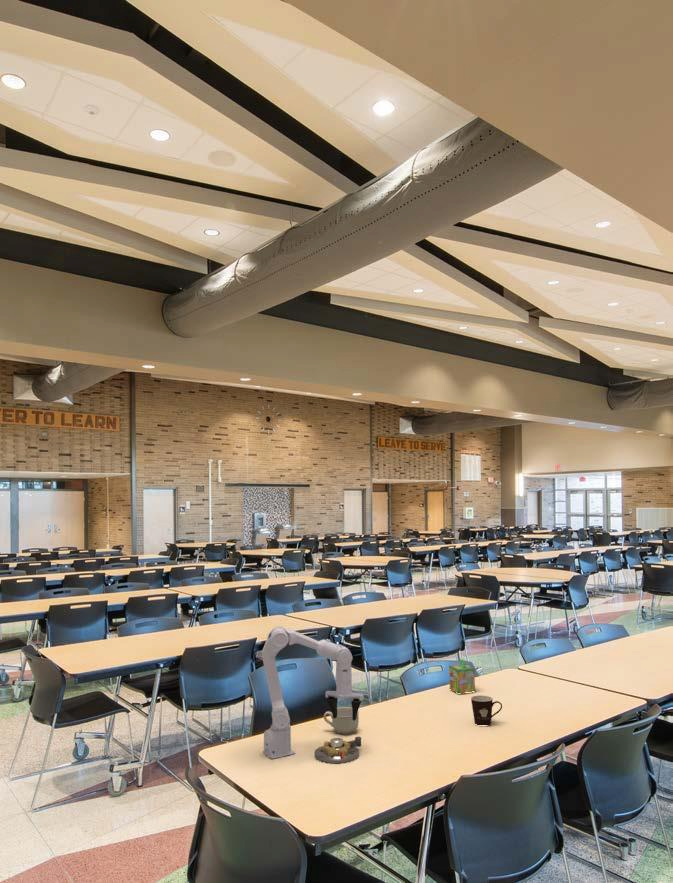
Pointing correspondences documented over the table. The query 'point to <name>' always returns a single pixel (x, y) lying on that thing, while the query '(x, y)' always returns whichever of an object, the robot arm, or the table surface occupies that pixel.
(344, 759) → the cap plate
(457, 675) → the green patterned box
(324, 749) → the gold handled ring
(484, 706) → the coffee mug
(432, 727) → the table surface
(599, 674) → the table surface
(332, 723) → the teacup
